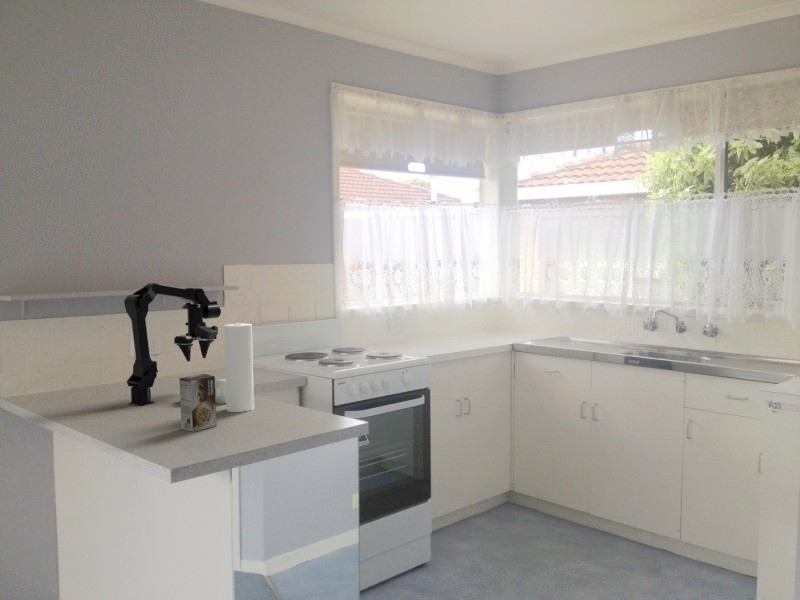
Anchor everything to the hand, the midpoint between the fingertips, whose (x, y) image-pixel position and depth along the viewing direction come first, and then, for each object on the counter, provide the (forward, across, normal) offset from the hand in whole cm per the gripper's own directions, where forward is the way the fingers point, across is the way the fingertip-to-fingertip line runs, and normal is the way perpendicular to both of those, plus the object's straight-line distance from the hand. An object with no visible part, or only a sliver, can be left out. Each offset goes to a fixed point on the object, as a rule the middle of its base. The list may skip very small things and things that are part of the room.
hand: (196, 359), depth 283 cm
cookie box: (+13, -46, -38) cm, 61 cm away
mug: (+13, -10, -21) cm, 27 cm away
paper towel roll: (+13, -19, -34) cm, 41 cm away
